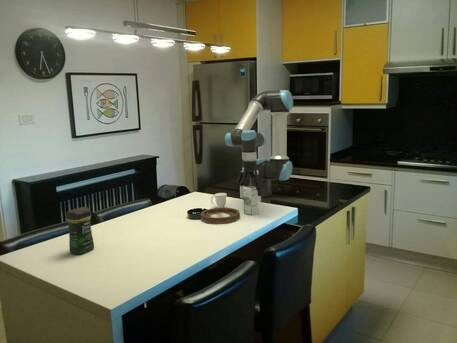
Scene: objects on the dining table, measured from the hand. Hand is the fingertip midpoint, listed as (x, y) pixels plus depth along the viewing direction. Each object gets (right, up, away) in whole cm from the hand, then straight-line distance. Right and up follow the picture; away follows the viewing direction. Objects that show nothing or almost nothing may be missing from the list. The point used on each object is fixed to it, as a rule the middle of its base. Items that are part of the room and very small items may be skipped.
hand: (250, 199), depth 214 cm
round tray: (-16, -9, -5) cm, 19 cm away
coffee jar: (-73, -19, -43) cm, 87 cm away
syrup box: (0, -8, +2) cm, 8 cm away
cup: (-17, -6, +16) cm, 24 cm away
